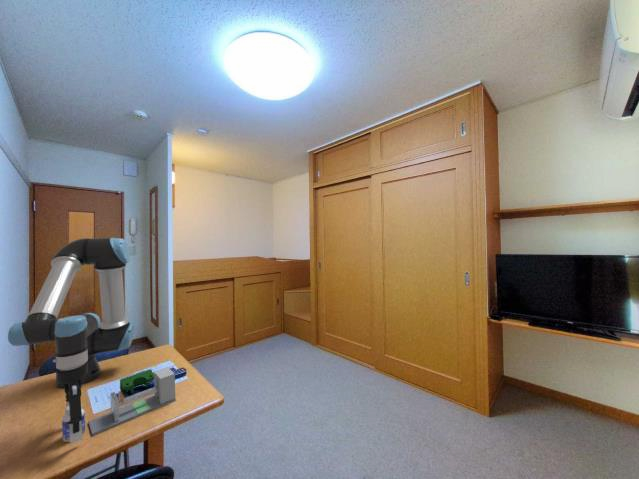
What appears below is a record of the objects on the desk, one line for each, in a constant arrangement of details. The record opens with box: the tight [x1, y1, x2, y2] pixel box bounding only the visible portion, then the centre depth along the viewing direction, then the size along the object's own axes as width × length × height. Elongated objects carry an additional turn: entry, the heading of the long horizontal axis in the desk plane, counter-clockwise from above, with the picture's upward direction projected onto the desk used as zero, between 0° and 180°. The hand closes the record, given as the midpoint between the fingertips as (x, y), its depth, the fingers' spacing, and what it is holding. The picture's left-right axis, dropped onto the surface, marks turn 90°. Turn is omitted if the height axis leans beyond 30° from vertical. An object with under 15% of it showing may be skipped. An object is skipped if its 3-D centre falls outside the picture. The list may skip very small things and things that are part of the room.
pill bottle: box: [61, 402, 86, 443], centre depth 86 cm, size 5×5×10 cm
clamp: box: [119, 368, 154, 394], centre depth 113 cm, size 12×6×9 cm, turn 132°
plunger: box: [110, 386, 159, 421], centre depth 98 cm, size 7×14×7 cm, turn 137°
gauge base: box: [88, 366, 177, 437], centre depth 98 cm, size 9×25×10 cm, turn 137°
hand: (74, 430), depth 86 cm, fingers open, 13 cm apart
